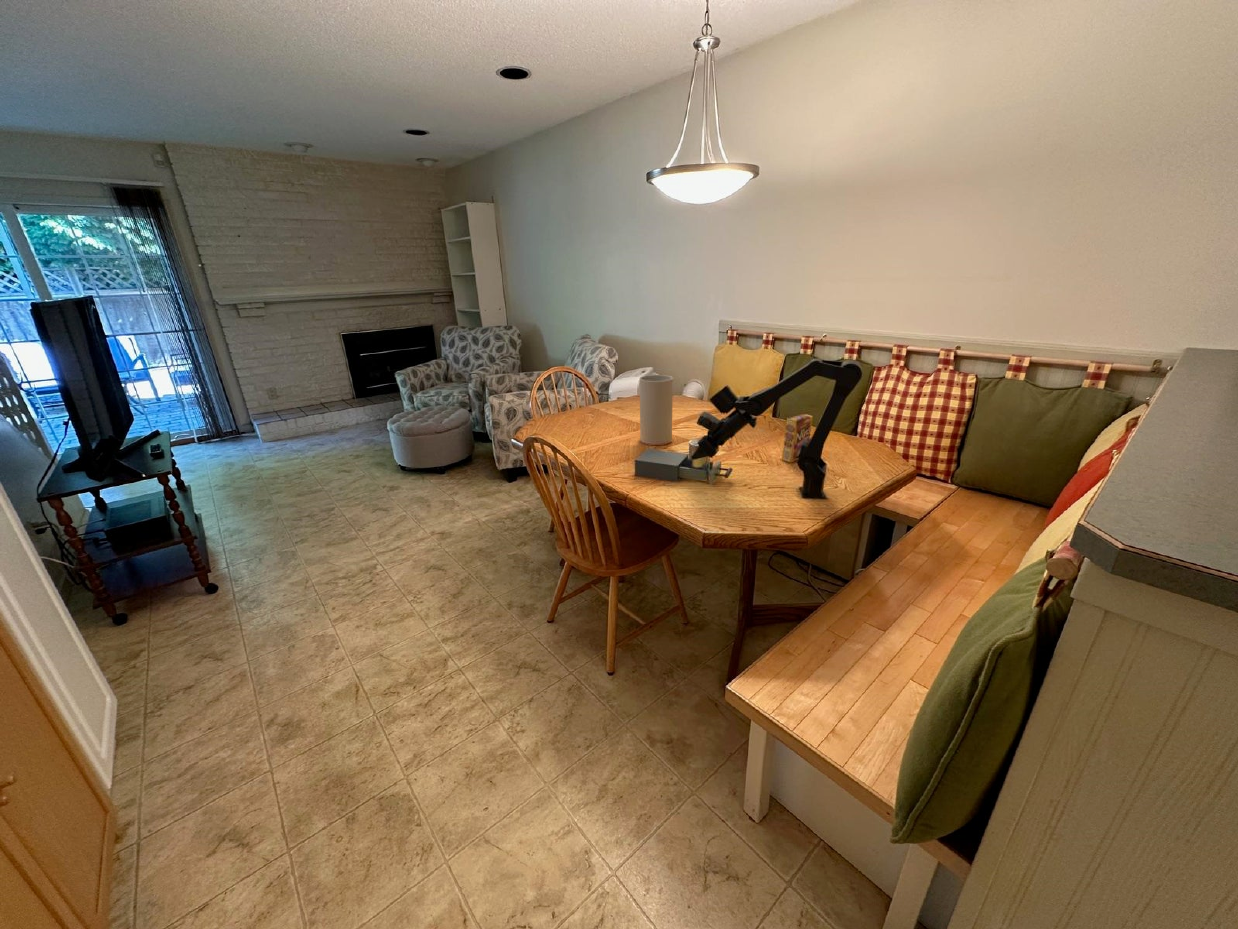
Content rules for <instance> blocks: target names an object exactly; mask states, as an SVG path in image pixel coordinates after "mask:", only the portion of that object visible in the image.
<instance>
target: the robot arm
mask: <svg viewBox="0 0 1238 929" xmlns="http://www.w3.org/2000/svg"><path fill="white" fill-rule="evenodd" d="M814 377H821V378H825V379H829V380H833V381H834V385H833V389H832V392H831V394H830V397H829V398H828V400H827V403H826V404H825V405H826V406H825V407H824V409H823V412H822V414H821V417H820V418H819V421H818V422H817V424H816V427H815V429H814V431H813V433H812V436H810V439H809V441H807V440H805V439H804V440H803V443H802V447H801V448H800V449H799V450H798V453H797V457H796V458H798V460H797V461H796V464H797V466H798V468H799V469H800V470H801V471H802V474H803V479H802V486H799V487H798V490H799V493H800V495H801V498H805V499H827V495H826V494H825V492H824V486H825V480H826V475H827V468H828V467H827V466H828V463H826V462H825V460H823V458H822V454H823V450H824V446H825V443H826V442H827V439H828V437H829V435H830V432H831V431H832V428H833V427H834V424H835V422H836V421H837V418H838V416H839V414H840V412H841V410H842V409H843V408H842V407H843V406H844V403H845V401H846V400H847V398H848V397H849V396H850V395H851V393H852V392H853V390H854V389H855V388H856V386H857V385H858V384H859V382H860V381H861V380H862V377H863V367H862V364H861V363H860V362H858V361H857V360H855V359H846V360H844V361H839V360H830V359H828V360H827V359H821V358H813V359H811V360H810V361H809V362H808V363H807V364H805V365H803V366H802V367H800V368H799V369H797V370H796V371H794V372H793V373H791V374H789V375H788V376H786V377H785V378H783V379H781V380H780V381H778V382H777V383H776V384H774V385H772V386H769V387H766V388H764V389H761V390H759V391H758V390H757V391H756V392H754V393H752V394H751V395H746V396H745V395H744V396H743V395H742V396H739V397H738V396H737V395H736V394H735V393H734V392H733V390H732V389H731V387H730V386H729V385H728V384H726V385H725V386H724V387H723V388H721V389H720V390H717V392H716V393H714V395H713V396H711V398H709V399H708V401H709V402H710V403H711V404H712V405H713V407H714V408H715V409H716V410H717V411H718V412H719V413H720V414H722V415H724V414H725V415H727V416H725V417H722V418H721V419H719V418H717V417H716V416H714V415H713V414H711V413H709V412H707V411H702V412H701V414H700V415H699V417H698V418H697V421H696V425H698V426H699V427H702V428H705V429H706V430H707V433H706V435H705V434H704V435H703V436H702V437H701V438H699V439H700V440H699V441H698V442H697V443H698V445H699V448H698V449H697V450H696V452H695V453H694V454H693V455H692V457H691V458H692V459H693V460H695V459H699V458H704V457H710V459H712V458H714V457H715V456H716V455H717V454H718V453H719V450H720V446H721V447H722V446H725V444H726V443H727V442H728V441H729V440H730V439H733V438H734V437H735V436H736V434H738V433H739V432H740V431H741V430H742V429H744V428H745V427H746V426H748V425H749V426H750V427H751V428H752V429H755V427H756V426H757V420H758V417H759V416H761V415H763V414H764V413H765V412H766V411H767V410H768V409H769V408H771V407H772V406H773V405H774V404H775V403H776V402H777V401H778V400H779V399H781V398H782V397H784V396H785V395H787V394H788V393H791V392H792V391H794V390H795V389H797V388H799V387H800V386H801V385H803V384H805V383H806V382H808V381H810V380H811V379H813V378H814ZM732 410H733V411H732ZM728 413H729V414H728Z"/></svg>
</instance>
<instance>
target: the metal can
mask: <svg viewBox="0 0 1238 929" xmlns="http://www.w3.org/2000/svg"><path fill="white" fill-rule="evenodd" d="M700 439H701V438H696V439H690V440H689V441H688V454H689V455H688V458H689V468H692V469H700V470H707V472H706V475H707V474H709V470H710V461H711V458H710V457H704V458H699V459H695V460H693V459H692V458H691V457H692V455H693V454H694V453H695V452H696V450H697V449H698V448H699V445H698V443H697V442H698V441H699V440H700Z"/></svg>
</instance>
